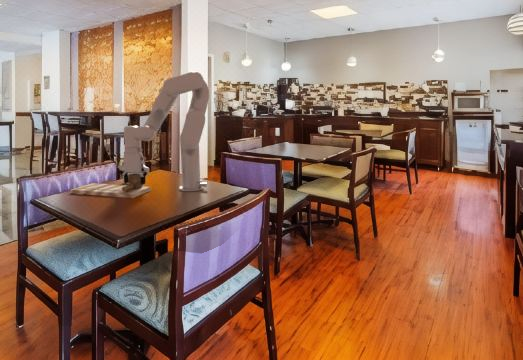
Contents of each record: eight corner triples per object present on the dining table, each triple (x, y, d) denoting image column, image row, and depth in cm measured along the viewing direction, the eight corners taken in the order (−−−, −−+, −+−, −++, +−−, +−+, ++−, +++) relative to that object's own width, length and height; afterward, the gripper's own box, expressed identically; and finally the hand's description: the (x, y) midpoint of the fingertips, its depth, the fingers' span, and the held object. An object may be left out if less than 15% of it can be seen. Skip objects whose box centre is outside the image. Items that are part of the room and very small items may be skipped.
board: (150, 190, 198) (150, 186, 198) (132, 198, 183) (132, 193, 183) (92, 186, 208) (92, 183, 208) (70, 193, 193) (70, 189, 193)
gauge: (142, 186, 198) (141, 173, 197) (127, 192, 186) (126, 178, 184) (135, 185, 199) (134, 172, 198) (120, 191, 187) (119, 177, 186)
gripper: (152, 150, 193) (153, 183, 197) (122, 148, 198) (124, 181, 201) (143, 152, 186) (145, 186, 190) (113, 150, 191) (115, 183, 194)
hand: (134, 183), depth 195 cm, fingers open, 9 cm apart
